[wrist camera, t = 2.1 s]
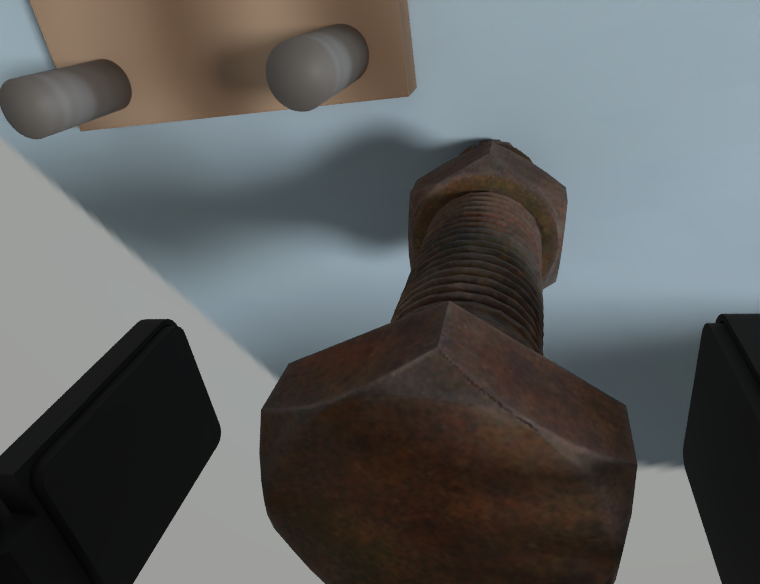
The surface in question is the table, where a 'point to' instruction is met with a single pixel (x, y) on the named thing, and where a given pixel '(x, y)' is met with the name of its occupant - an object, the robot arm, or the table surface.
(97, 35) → the peg holder
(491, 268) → the bolt
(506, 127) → the table surface
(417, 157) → the table surface
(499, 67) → the table surface
